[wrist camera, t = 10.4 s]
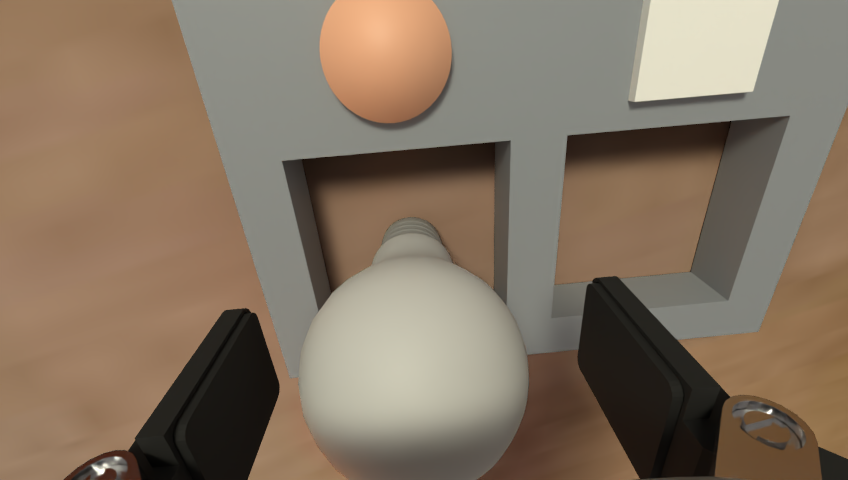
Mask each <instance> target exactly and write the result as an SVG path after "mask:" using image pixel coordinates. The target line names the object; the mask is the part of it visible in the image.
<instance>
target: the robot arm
mask: <svg viewBox="0 0 848 480" xmlns="http://www.w3.org/2000/svg"><path fill="white" fill-rule="evenodd" d="M578 365H579V368H580V370H581V372H582V374H583V375H584V377H585V379H586V381H587V383H588V385H589V386H590V388H591V390H592V392H593V394H594V396H595V397H596V399H597V401H598V403H599V405H600V407H601V408H602V410H603V412H604V414H605V416H606V418H607V419H608V421H609V423H610V425H611V427H612V428H613V430H614V432H615V434H616V436H617V438H618V439H619V441H620V443H621V445H622V447H623V449H624V450H625V452H626V454H627V456H628V458H629V460H630V461H631V463H632V465H633V467H634V469H635V471H636V472H637V474H638V476H639V478H640V479H638V480H848V459H846V458H844V457H841V456H839V455H837V454H834V453H832V452H830V451H827V450H825V449H823V448H820V447H818V443H817V440H816V437H815V434H814V433H813V431H812V430H811V429H810V427H809V426H808V425H807V424H806V423H805V422H804V421H803V420H802V419H801V418H799V417H798V416H797V415H796V414H795V413H793V412H791V411H790V410H788V409H786V408H785V407H783V406H782V405H779V404H777V403H775V402H772V401H770V400H768V399H764V398H760V397H756V396H750V395H738V396H732V397H730V396H729V395H728V394H727V393H726V392H725V391H724V390H723V389H722V388H721V386H720V385H719V384H718V383H717V382H716V381H715V380H714V379H713V378H712V377H711V376H710V375H709V374H708V373H707V372H706V370H705V369H704V368H703V367H702V366H701V365H700V364H699V363H698V362H697V361H696V360H695V359H694V358H693V357H692V356H691V354H690V353H689V352H688V351H687V350H686V349H685V348H684V347H683V346H682V345H681V344H680V343H679V342H678V341H677V340H676V338H675V337H674V336H673V335H672V334H671V333H670V332H669V331H668V330H667V329H666V328H665V327H664V326H663V325H662V324H661V322H660V321H659V320H658V319H657V318H656V317H655V316H654V315H653V314H652V313H651V312H650V311H649V310H648V309H647V308H646V306H645V305H644V304H643V303H642V302H641V301H640V300H639V299H638V298H637V297H636V296H635V295H634V294H633V293H632V292H631V290H630V289H629V288H628V287H627V286H626V285H625V284H624V283H623V282H622V281H621V280H620V279H619V278H618V277H616V276H613V277H601V278H595V279H594V280H593V282H592V283H591V284H588V285H587V288H586V295H585V302H584V310H583V318H582V325H581V333H580V341H579V349H578ZM278 395H279V381H278V378H277V375H276V372H275V369H274V366H273V363H272V360H271V357H270V354H269V351H268V348H267V345H266V342H265V338H264V335H263V332H262V329H261V326H260V323H259V320H258V317H257V315H256V314H255V313H251V312H250V311H249V309H246V308H245V309H233V310H226V311H224V312H223V313H222V314H221V316H220V317H219V319H218V320H217V322H216V323H215V324H214V326H213V327H212V329H211V330H210V332H209V333H208V334H207V336H206V337H205V339H204V340H203V342H202V343H201V344H200V346H199V347H198V349H197V350H196V352H195V353H194V354H193V356H192V357H191V359H190V360H189V362H188V363H187V364H186V366H185V367H184V369H183V370H182V372H181V373H180V374H179V376H178V377H177V379H176V380H175V382H174V383H173V384H172V386H171V387H170V389H169V390H168V392H167V393H166V394H165V396H164V397H163V399H162V400H161V402H160V403H159V404H158V406H157V407H156V409H155V410H154V412H153V413H152V414H151V416H150V417H149V419H148V420H147V422H146V423H145V424H144V426H143V427H142V429H141V430H140V432H139V433H138V434H137V436H136V437H135V442H134V443H133V445H132V446H131V448H130V449H129V450H128V451H126V450H114V451H110V452H107V453H103V454H101V455H99V456H96V457H94V458H92V459H90V460H88V461H87V462H85V463H84V464H82V465H81V466H79V467H77V468H76V469H75V470H74V471H73V472H71V473H70V474H69V475H68V476H67V477H66V478H64V480H248V477H249V474H250V471H251V469H252V466H253V463H254V461H255V458H256V455H257V453H258V450H259V447H260V444H261V442H262V439H263V436H264V434H265V431H266V428H267V425H268V423H269V420H270V417H271V415H272V412H273V409H274V407H275V404H276V401H277V398H278Z"/></svg>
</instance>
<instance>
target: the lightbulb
mask: <svg viewBox="0 0 848 480" xmlns="http://www.w3.org/2000/svg"><path fill="white" fill-rule="evenodd" d="M298 385H299V392H300V399H301V405H302V410H303V416H304V419H305V421H306V423H307V425H308V427H309V430H310V432H311V434H312V436H313V438H314V440H315V442H316V444H317V446H318V448H319V449H320V450H321V452H322V453H323V454H324V455H325V457H326V458H327V459H328V460H329V462H330V463H331V464H332V465H333V466H334V468H335V469H336V470H337V471H338V472H339V473H341V474H342V475H343V476H344V477H346V478H347V479H348V480H477V479H478V478H480V477H481V476H482V475H484V474H485V473H486V472H487V471H489V470H490V469H491V468H492V467H493V466H494V465H495V464H496V463H497V462H498V460H499V459H500V458H501V457H502V455H503V454H504V452H505V451H506V449H507V448H508V447H509V445H510V444H511V442H512V440H513V438H514V436H515V434H516V432H517V430H518V428H519V425H520V423H521V420H522V418H523V415H524V412H525V408H526V403H527V397H528V388H529V372H528V359H527V350H526V347H525V344H524V341H523V338H522V335H521V332H520V329H519V327H518V324H517V322H516V319H515V318H514V316H513V315H512V313H511V312H510V310H509V309H508V307H507V306H506V304H505V303H504V302H503V301H502V299H501V298H500V297H499V296H498V294H497V293H496V292H495V291H494V290H493V289H492V288H491V287H490V286H489V285H488V284H486V283H485V282H484V281H483V280H482V279H480V278H478V277H477V276H475V275H473V274H472V273H470V272H469V271H467V270H465V269H463V268H461V267H459V266H458V265H456V264H453V263H452V260H451V257H450V255H449V253H448V251H447V250H446V249H445V247H444V246H443V245H442V242H441V239H440V237H439V234H438V232H437V230H436V229H435V227H434V226H433V225H432V224H431V223H429V222H428V221H426V220H423V219H421V218H416V217H408V218H403V219H400V220H398V221H396V222H394V223H393V224H392V225H391V226H390V227H389V228H388V229H387V231H386V233H385V235H384V238H383V241H382V245H381V247H380V248H379V250H378V251H377V252H376V254H375V257H374V259H373V262H372V265H371V266H370V267H368V268H366V269H364V270H363V271H361V272H359V273H357V274H356V275H354V276H352V277H351V278H349V279H347V280H346V281H345V282H344V283H343V284H342V285H340V286H339V287H338V288H337V289H336V290H335V291H334V292H333V293H332V294H331V295H330V297H329V298H328V299H327V301H326V302H325V304H324V305H323V306H322V308H321V309H320V310H319V312H318V313H317V315H316V316H315V317H314V319H313V320H312V323H311V325H310V328H309V330H308V333H307V335H306V338H305V341H304V344H303V347H302V350H301V357H300V366H299V382H298Z"/></svg>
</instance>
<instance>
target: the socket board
mask: <svg viewBox="0 0 848 480" xmlns="http://www.w3.org/2000/svg"><path fill="white" fill-rule="evenodd" d="M172 2H173V6H174V9H175V12H176V15H177V18H178V22H179V25H180V28H181V31H182V34H183V38H184V41H185V44H186V47H187V50H188V54H189V57H190V60H191V63H192V66H193V70H194V73H195V76H196V79H197V82H198V85H199V89H200V92H201V95H202V98H203V101H204V105H205V108H206V111H207V114H208V117H209V121H210V124H211V127H212V130H213V133H214V137H215V140H216V143H217V146H218V149H219V153H220V156H221V159H222V162H223V165H224V169H225V172H226V175H227V178H228V181H229V185H230V188H231V191H232V194H233V197H234V200H235V204H236V207H237V210H238V213H239V216H240V220H241V223H242V226H243V229H244V232H245V236H246V239H247V242H248V245H249V248H250V252H251V255H252V258H253V261H254V264H255V268H256V271H257V274H258V277H259V280H260V284H261V287H262V290H263V293H264V296H265V300H266V303H267V306H268V309H269V312H270V315H271V319H272V322H273V325H274V328H275V331H276V335H277V338H278V341H279V344H280V347H281V351H282V354H283V357H284V360H285V363H286V367H287V370H288V373H289V376H290V378H297V377H299V366H300V357H301V350H302V347H303V344H304V341H305V338H306V335H307V333H308V330H309V328H310V325H311V323H312V320H313V319H314V317H315V316H316V315H317V313H318V312H319V310H320V309H321V308H322V306H323V305H324V304H325V302H326V301H327V299H328V298H329V297H330V295H331V291H330V286H329V281H328V277H327V272H326V268H325V263H324V259H323V254H322V250H321V245H320V240H319V236H318V231H317V227H316V222H315V218H314V213H313V208H312V204H311V199H310V195H309V190H308V186H307V181H306V177H305V172H304V167H303V163H302V159H308V158H319V157H331V156H342V155H353V154H364V153H376V152H387V151H398V150H409V149H420V148H432V147H443V146H454V145H465V144H477V143H488V142H495V212H494V291H495V292H496V293H497V294H498V296H499V297H500V298H501V299H502V301H503V302H504V303H505V304H506V306H507V307H508V309H509V310H510V312H511V313H512V315H513V316H514V318H515V319H516V322H517V324H518V327H519V329H520V332H521V335H522V338H523V341H524V344H525V347H526V350H527V355H529V354H539V353H549V352H559V351H569V350H578V349H579V341H580V333H581V325H582V318H583V310H584V302H585V295H586V288H587V285H588V284H591V283H592V282H593V281H591V282H581V283H571V284H560V285H554V281H555V269H556V258H557V247H558V236H559V224H560V213H561V202H562V191H563V179H564V168H565V157H566V146H567V135H578V134H589V133H600V132H611V131H622V130H634V129H645V128H656V127H667V126H679V125H690V124H701V123H712V122H723V121H731V125H730V129H729V132H728V136H727V140H726V144H725V147H724V151H723V155H722V158H721V162H720V166H719V169H718V173H717V177H716V180H715V184H714V188H713V191H712V195H711V199H710V202H709V206H708V210H707V214H706V217H705V221H704V225H703V228H702V232H701V236H700V239H699V243H698V247H697V250H696V254H695V258H694V261H693V265H692V269H691V272H685V273H674V274H664V275H654V276H643V277H633V278H622V279H620V280H621V281H622V282H623V283H624V284H625V285H626V286H627V287H628V288H629V289H630V290H631V292H632V293H633V294H634V295H635V296H636V297H637V298H638V299H639V300H640V301H641V302H642V303H643V304H644V305H645V306H646V308H647V309H648V310H649V311H650V312H651V313H652V314H653V315H654V316H655V317H656V318H657V319H658V320H659V321H660V322H661V324H662V325H663V326H664V327H665V328H666V329H667V330H668V331H669V332H670V333H671V334H672V335H673V336H674V337H675V338H676V340H680V339H690V338H700V337H710V336H720V335H730V334H740V333H750V332H758V331H759V329H760V326H761V324H762V321H763V318H764V316H765V313H766V311H767V308H768V306H769V303H770V301H771V298H772V296H773V293H774V291H775V288H776V286H777V283H778V280H779V278H780V275H781V273H782V270H783V268H784V265H785V263H786V260H787V258H788V255H789V253H790V250H791V247H792V245H793V242H794V240H795V237H796V235H797V232H798V230H799V227H800V225H801V222H802V220H803V217H804V215H805V212H806V209H807V207H808V204H809V202H810V199H811V197H812V194H813V192H814V189H815V187H816V184H817V182H818V179H819V176H820V174H821V171H822V169H823V166H824V164H825V161H826V159H827V156H828V154H829V151H830V149H831V146H832V144H833V141H834V138H835V136H836V133H837V131H838V128H839V126H840V123H841V121H842V118H843V116H844V113H845V111H846V108H847V105H848V0H172Z"/></svg>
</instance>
